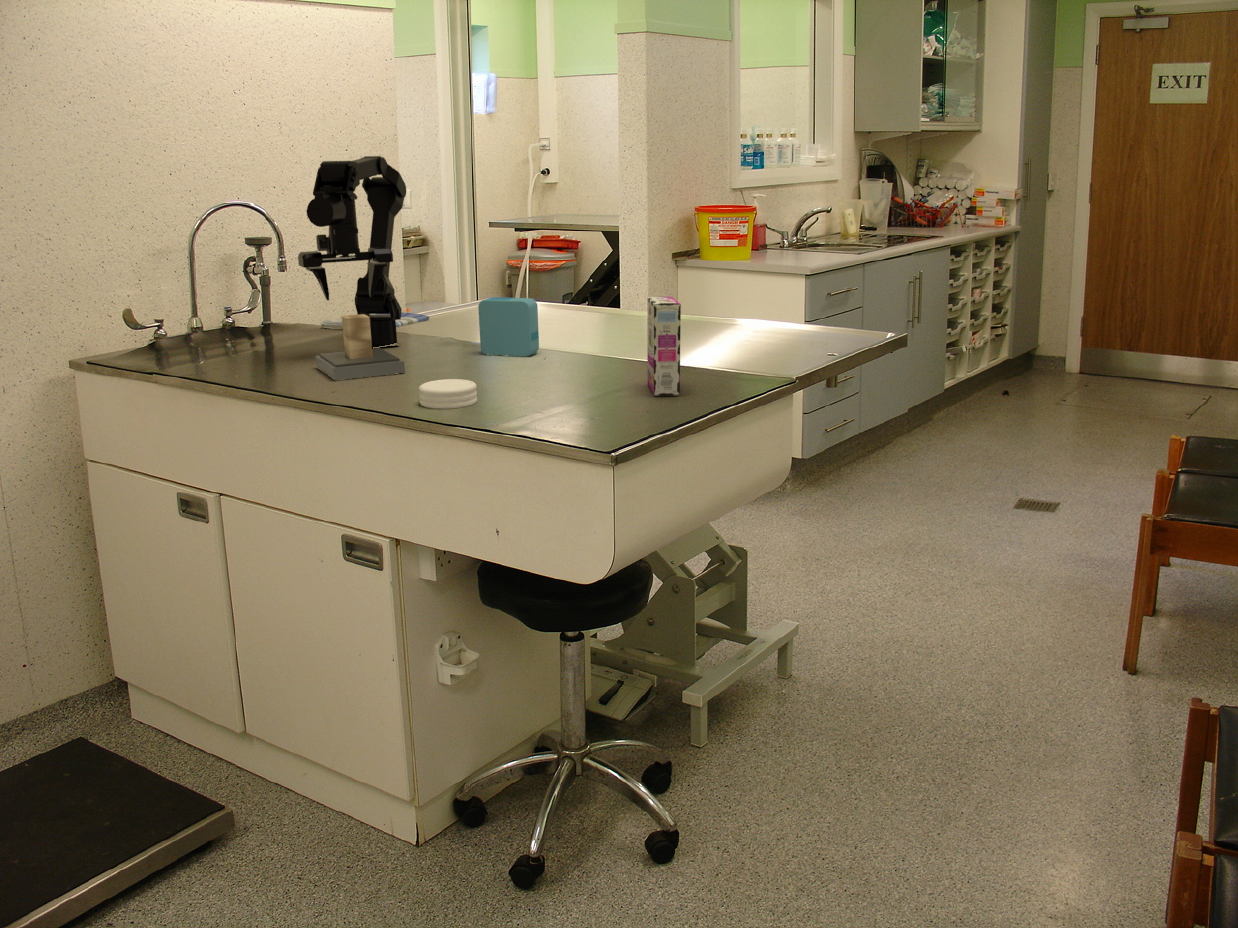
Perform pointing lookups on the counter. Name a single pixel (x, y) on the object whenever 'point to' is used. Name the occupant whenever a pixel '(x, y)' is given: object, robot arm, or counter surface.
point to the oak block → (357, 336)
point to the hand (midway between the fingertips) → (349, 298)
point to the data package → (508, 326)
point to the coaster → (448, 394)
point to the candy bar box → (663, 346)
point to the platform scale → (359, 365)
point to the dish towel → (405, 317)
